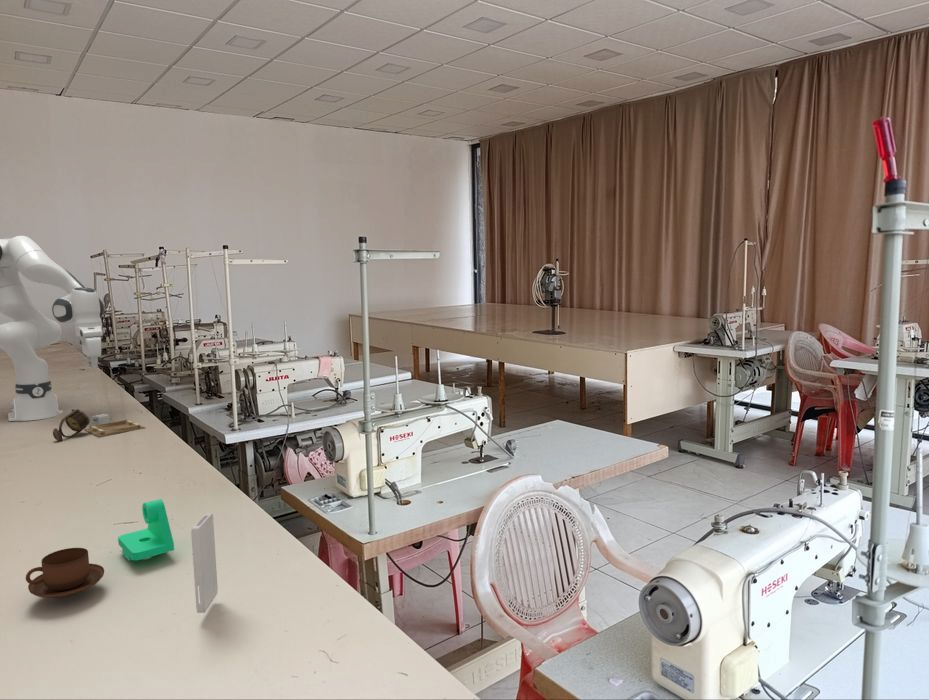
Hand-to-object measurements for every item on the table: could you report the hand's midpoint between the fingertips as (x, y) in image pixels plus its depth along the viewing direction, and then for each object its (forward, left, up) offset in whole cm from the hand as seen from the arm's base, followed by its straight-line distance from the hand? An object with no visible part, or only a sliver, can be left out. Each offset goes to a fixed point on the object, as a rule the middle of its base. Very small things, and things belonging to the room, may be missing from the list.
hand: (93, 367), depth 247 cm
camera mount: (+132, -32, -23) cm, 137 cm away
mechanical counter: (+15, -12, -23) cm, 30 cm away
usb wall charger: (0, +2, -23) cm, 23 cm away
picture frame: (+15, +1, -22) cm, 27 cm away
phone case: (+163, -33, -23) cm, 168 cm away
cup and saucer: (+138, -48, -23) cm, 148 cm away
